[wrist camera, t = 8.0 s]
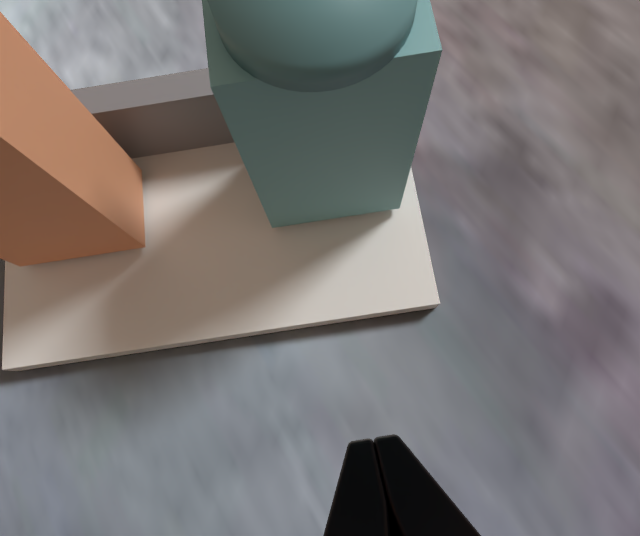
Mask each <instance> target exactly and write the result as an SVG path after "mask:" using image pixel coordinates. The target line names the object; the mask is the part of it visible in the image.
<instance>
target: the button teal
mask: <svg viewBox="0 0 640 536" xmlns="http://www.w3.org/2000/svg"><path fill="white" fill-rule="evenodd" d="M202 6H203V16H204V27H205V37H206V47H207V58H208V68H209V79H210V87H211V90H212V92H213V94H214V97H215V99H216V101H217V103H218V106H219V108H220V110H221V113H222V115H223V117H224V119H225V122H226V124H227V126H228V128H229V131H230V133H231V135H232V138H233V140H234V142H235V144H236V147H237V149H238V151H239V154H240V156H241V158H242V160H243V163H244V165H245V167H246V170H247V172H248V174H249V176H250V179H251V181H252V183H253V186H254V188H255V190H256V192H257V195H258V197H259V199H260V202H261V204H262V206H263V208H264V211H265V213H266V215H267V218H268V220H269V222H270V224H271V227H272V228H276V227H282V226H289V225H295V224H302V223H308V222H315V221H321V220H328V219H334V218H340V217H347V216H353V215H360V214H366V213H373V212H379V211H386V210H392V209H399V208H400V205H401V202H402V198H403V194H404V190H405V187H406V183H407V179H408V175H409V172H410V168H411V164H412V161H413V157H414V153H415V149H416V146H417V142H418V138H419V134H420V131H421V127H422V123H423V120H424V116H425V112H426V108H427V105H428V101H429V97H430V93H431V90H432V86H433V82H434V79H435V75H436V71H437V67H438V64H439V60H440V56H441V52H442V47H441V43H440V39H439V35H438V31H437V27H436V23H435V19H434V15H433V11H432V7H431V3H430V0H202Z"/></svg>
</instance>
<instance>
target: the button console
mask: <svg viewBox="0 0 640 536" xmlns="http://www.w3.org/2000/svg"><path fill="white" fill-rule="evenodd" d="M70 91H71V92H72V93H73V94H74V95H75V96H76V97H77V98H78V99H79V101H80V102H81V103H82V104H83V105H84V106H85V107H86V108H87V110H88V111H89V112H90V113H91V114H92V115H93V116H94V117H95V119H96V120H97V121H98V122H99V123H100V124H101V125H102V126H103V127H104V129H105V130H106V131H107V132H108V133H109V134H110V135H111V136H112V138H113V139H114V140H115V141H116V142H117V143H118V144H119V145H120V147H121V148H122V149H123V150H124V151H125V152H126V153H127V154H128V155H129V157H130V158H131V159H132V160H133V161H134V162H135V163H136V164H137V166H138V167H139V168H140V169H141V170H142V186H143V206H144V226H145V246H146V247H144V248H137V249H131V250H124V251H118V252H111V253H105V254H98V255H92V256H85V257H79V258H72V259H66V260H60V261H53V262H47V263H40V264H34V265H27V266H21V267H20V266H17V265H15V264H12V263H10V262H8V261H5V286H4V319H3V352H2V370H9V371H22V370H29V369H35V368H42V367H48V366H55V365H62V364H68V363H75V362H81V361H88V360H95V359H101V358H108V357H115V356H121V355H128V354H134V353H141V352H148V351H154V350H161V349H167V348H174V347H181V346H187V345H194V344H200V343H207V342H214V341H220V340H227V339H234V338H240V337H247V336H253V335H260V334H267V333H273V332H280V331H286V330H293V329H300V328H306V327H313V326H320V325H326V324H333V323H339V322H346V321H353V320H359V319H366V318H372V317H379V316H386V315H392V314H399V313H406V312H412V311H419V310H425V309H432V308H436V307H437V306H438V305H439V304H440V301H439V296H438V291H437V287H436V282H435V277H434V273H433V268H432V263H431V259H430V254H429V249H428V244H427V240H426V235H425V230H424V226H423V221H422V216H421V212H420V207H419V202H418V197H417V193H416V188H415V183H414V179H413V174H412V169H411V168H410V172H409V175H408V179H407V183H406V187H405V190H404V194H403V198H402V202H401V205H400V208H399V209H392V210H386V211H379V212H373V213H366V214H360V215H353V216H347V217H340V218H334V219H328V220H321V221H315V222H308V223H302V224H295V225H289V226H282V227H276V228H272V227H271V224H270V222H269V220H268V218H267V215H266V213H265V211H264V208H263V206H262V204H261V202H260V199H259V197H258V195H257V192H256V190H255V188H254V186H253V183H252V181H251V179H250V176H249V174H248V172H247V170H246V167H245V165H244V163H243V160H242V158H241V156H240V154H239V151H238V149H237V147H236V144H235V142H234V140H233V138H232V135H231V133H230V131H229V128H228V126H227V124H226V122H225V119H224V117H223V115H222V113H221V110H220V108H219V106H218V103H217V101H216V99H215V97H214V94H213V92H212V90H211V87H210V79H209V68H206V69H200V70H194V71H187V72H181V73H175V74H169V75H162V76H156V77H150V78H144V79H137V80H131V81H125V82H119V83H112V84H106V85H100V86H94V87H87V88H81V89H75V90H70Z"/></svg>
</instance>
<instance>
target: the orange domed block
mask: <svg viewBox="0 0 640 536" xmlns="http://www.w3.org/2000/svg"><path fill="white" fill-rule="evenodd" d="M144 247H146V246H145V226H144V206H143V186H142V170H141V169H140V168H139V167H138V166H137V164H136V163H135V162H134V161H133V160H132V159H131V158H130V157H129V155H128V154H127V153H126V152H125V151H124V150H123V149H122V148H121V147H120V145H119V144H118V143H117V142H116V141H115V140H114V139H113V138H112V136H111V135H110V134H109V133H108V132H107V131H106V130H105V129H104V127H103V126H102V125H101V124H100V123H99V122H98V121H97V120H96V119H95V117H94V116H93V115H92V114H91V113H90V112H89V111H88V110H87V108H86V107H85V106H84V105H83V104H82V103H81V102H80V101H79V99H78V98H77V97H76V96H75V95H74V94H73V93H72V92H71V91H70V89H69V88H68V87H67V86H66V85H65V84H64V83H63V82H62V80H61V79H60V78H59V77H58V76H57V75H56V74H55V73H54V72H53V70H52V69H51V68H50V67H49V66H48V65H47V64H46V63H45V61H44V60H43V59H42V58H41V57H40V56H39V55H38V54H37V52H36V51H35V50H34V49H33V48H32V47H31V46H30V45H29V44H28V42H27V41H26V40H25V39H24V38H23V37H22V36H21V35H20V33H19V32H18V31H17V30H16V29H15V28H14V27H13V26H12V24H11V23H10V22H9V21H8V20H7V19H6V18H5V17H4V16H3V14H2V13H1V12H0V259H3V260H5V261H8V262H10V263H12V264H15V265H17V266H20V267H21V266H27V265H34V264H40V263H47V262H53V261H60V260H66V259H72V258H79V257H85V256H92V255H98V254H105V253H111V252H118V251H124V250H131V249H137V248H144Z"/></svg>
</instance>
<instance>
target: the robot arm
mask: <svg viewBox="0 0 640 536" xmlns="http://www.w3.org/2000/svg"><path fill="white" fill-rule="evenodd" d="M324 536H481V535H480V534H479V533H478V532H477V530H476V529H475V528H474V527H473V526H472V524H471V523H470V522H469V521H468V519H467V518H466V517H465V516H464V515H463V513H462V512H461V511H460V510H459V509H458V507H457V506H456V505H455V504H454V503H453V501H452V500H451V499H450V498H449V496H448V495H447V494H446V493H445V492H444V490H443V489H442V488H441V487H440V486H439V484H438V483H437V482H436V481H435V480H434V478H433V477H432V476H431V475H430V473H429V472H428V471H427V470H426V469H425V467H424V466H423V465H422V464H421V463H420V461H419V460H418V459H417V458H416V457H415V455H414V454H413V453H412V452H411V450H410V449H409V448H408V447H407V446H406V444H405V443H404V442H403V441H402V440H401V438H400V437H399V436H397V435H387V436H381V437H376V438H375V439H374V443H373V441H372V440H371V439H362V440H356V441H351V442H350V443H349V444H348V447H347V450H346V454H345V458H344V461H343V465H342V469H341V472H340V476H339V480H338V484H337V487H336V491H335V495H334V498H333V502H332V506H331V510H330V513H329V517H328V521H327V524H326V528H325V532H324Z"/></svg>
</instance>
